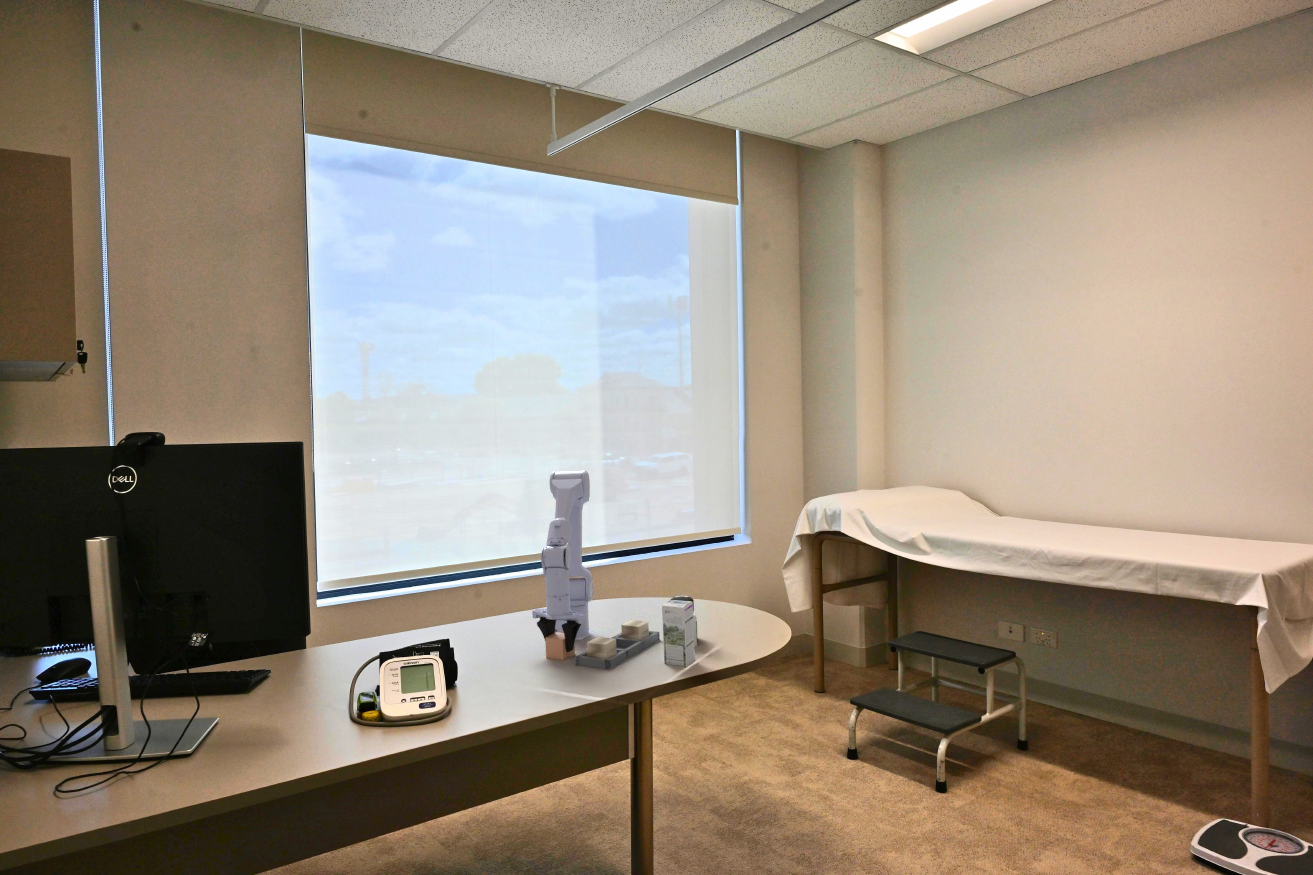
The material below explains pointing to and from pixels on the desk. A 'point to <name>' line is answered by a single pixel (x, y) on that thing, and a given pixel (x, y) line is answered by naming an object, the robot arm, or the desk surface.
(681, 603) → the syrup box
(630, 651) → the organiser tray
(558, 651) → the terracotta block
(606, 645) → the ash block near
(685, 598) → the medicine bottle
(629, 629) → the ash block far
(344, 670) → the desk surface
